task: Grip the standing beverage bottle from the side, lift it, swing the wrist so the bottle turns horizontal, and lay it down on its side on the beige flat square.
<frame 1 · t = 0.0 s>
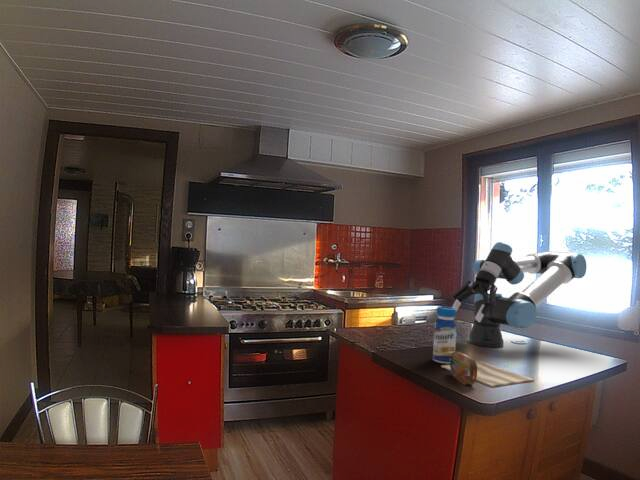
hand: (463, 317, 170), 15 cm above the countertop, tool tilted 35°, fingers open, 13 cm apart
brown rounded piece: (462, 381, 136), on the countertop
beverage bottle: (443, 361, 159), on the countertop
beige flat square: (485, 373, 145), on the countertop
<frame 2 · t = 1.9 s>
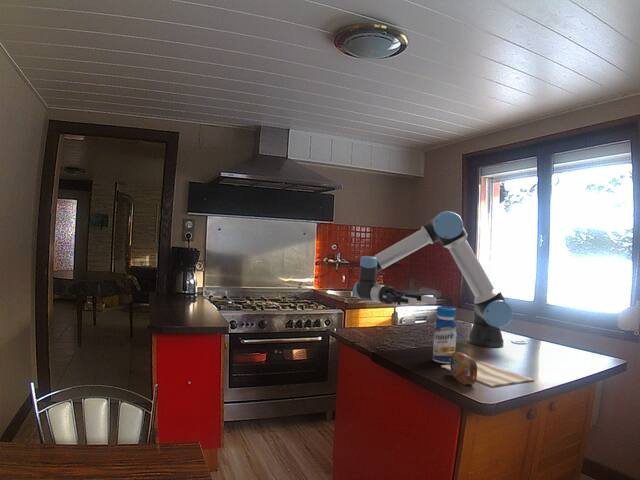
hand: (426, 301, 167), 21 cm above the countertop, tool horizontal, fingers open, 13 cm apart
nothing on the countertop moved.
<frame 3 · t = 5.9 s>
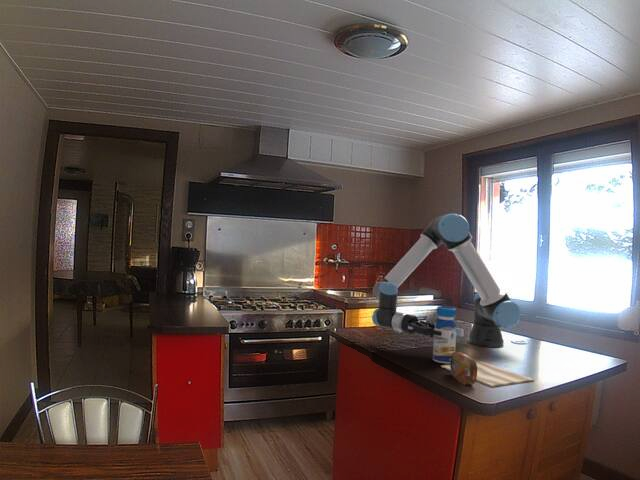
hand: (456, 334, 156), 11 cm above the countertop, tool horizontal, fingers closed on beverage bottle, 8 cm apart
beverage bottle: (443, 361, 159), on the countertop, touching gripper
everything else where it was.
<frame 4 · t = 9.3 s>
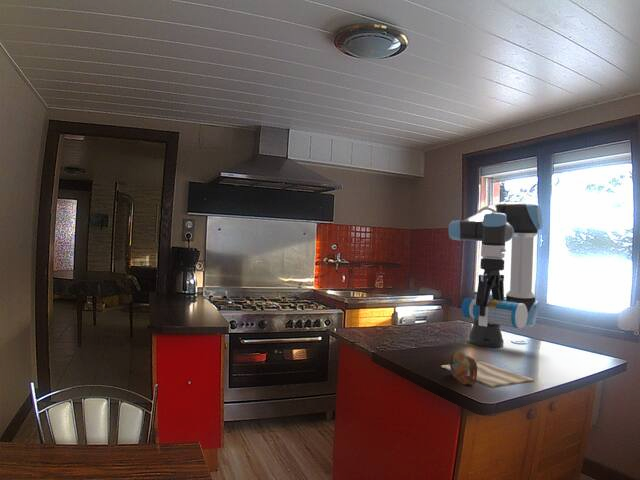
hand: (489, 324, 145), 17 cm above the countertop, tool pointing down, fingers closed on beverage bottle, 8 cm apart
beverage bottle: (523, 316, 136), point 22 cm above the countertop, touching gripper
everything else where it was.
when the fingers open (2 cm above the countertop, at t = 12.1 s): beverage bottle drops 3 cm, resting on beige flat square.
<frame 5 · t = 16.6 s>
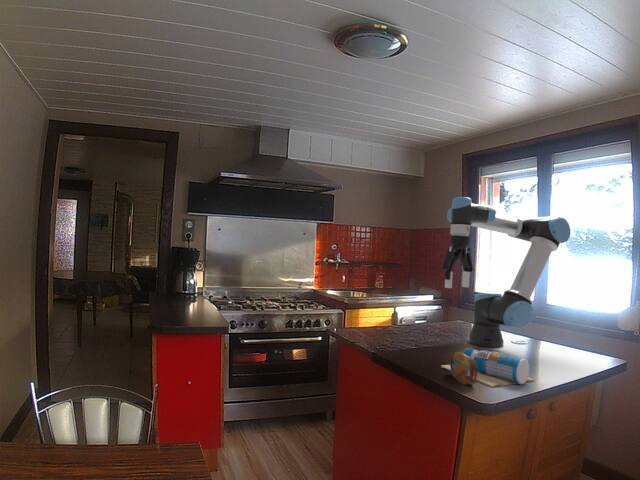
hand: (457, 287, 172), 27 cm above the countertop, tool pointing down, fingers open, 13 cm apart
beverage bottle: (525, 372, 135), point 4 cm above the countertop, touching beige flat square
everything else where it was.
at the end: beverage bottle tilted 90°; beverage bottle inside the target area (13.5 cm from its centre), point 4.1 cm above the countertop; the gripper is holding nothing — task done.
